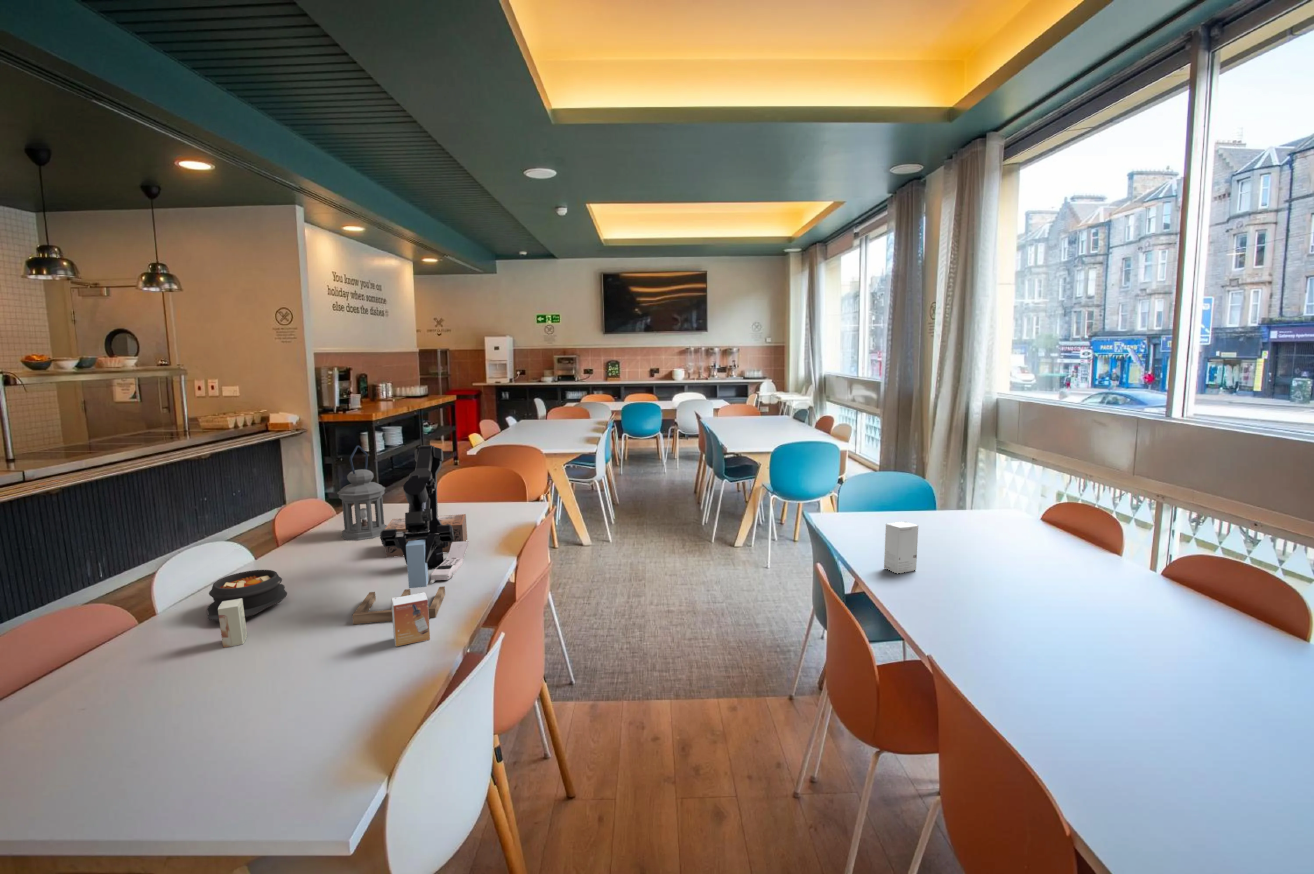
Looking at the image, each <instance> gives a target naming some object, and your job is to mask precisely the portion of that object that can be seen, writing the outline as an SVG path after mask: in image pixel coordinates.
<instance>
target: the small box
mask: <svg viewBox="0 0 1314 874" xmlns="http://www.w3.org/2000/svg"><path fill="white" fill-rule="evenodd" d="M428 607H429V600H428V597H427V594H426V592H424V591H423V592H419V593H413V594H411V595H408V596H402V597H401V596H397V597H391V610H392V617H393V621H392V629H393V631H392V632H393V640H394V645H395V647H399V646H405V645H409V644H414V643H420V642H426V640H427V641H430V640H431V629H430V618H429V611H428Z"/></svg>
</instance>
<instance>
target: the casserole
mask: <svg viewBox="0 0 1314 874" xmlns="http://www.w3.org/2000/svg"><path fill="white" fill-rule="evenodd" d="M282 582H283V578H282V577H281V576H279V574H278V572H277V571H275V570H272V569H256V570H255V569H253V570H247V571H242V572H241V571H240V572H238V573H233V574H230V575H227V576H224V577H222V578H219V579H217V580H216V581H214V582H213V584H212V586H211V589H210V591H209V592H208V595H209V597H211V598H212V599H213V602H211V603H210V604H209V605H208V606H207V608H206V611H207V613H208V615H207V617H206V618H207V620H209V621H215V622H216V621H217V622H218V621H219V614H218V607H219V606H220V604H221V603H222V601H228V600H235V599H241V598H242V600H243V607H244V615H245V618H248V617H252V616H255V615H257V614H259V613H261V612H262V611H264V610H265V609H268V608H270V607H273V606H274V605H277V604H278V603H280V602H282V601H283V600H284V599H286V597H287V596H288V592H287V591H286V589H285V587H286V586H285V584H282Z"/></svg>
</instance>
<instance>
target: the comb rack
mask: <svg viewBox="0 0 1314 874" xmlns="http://www.w3.org/2000/svg"><path fill="white" fill-rule="evenodd" d="M408 595H412V594H411V588H407V589H404V590H403V592H402V593H401V595H400V597H402V596H408ZM376 597H377V596H376V591H369V592H368V594H367V595H366V596H365V598H364V599H363V600H362V601H361V603H360V604H359V606H358V607H357V608H356V610H355V611H354V612H353V614H352V625H361V624H360V623H364V624H371V623H370V622H375V623H383V622H384V623H385V621H387V622H393V617H392V609H386V610H385V609H384V610H374V611H373V610H372V611H370V609H371V608H372V606H373V605H374V603H375V602H376V600H377V598H376ZM445 597H446V587H445V586H439V587H438V589H437V591H436V593H435V595H434V598H433V600H432V602H431V603H430V606H428V611H429V619H432V618H437V615H438V613H439V610H440V608H441V605H442V603H443V601H444V599H445Z"/></svg>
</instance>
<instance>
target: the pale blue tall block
mask: <svg viewBox="0 0 1314 874" xmlns="http://www.w3.org/2000/svg"><path fill="white" fill-rule="evenodd" d="M425 553H426V540H414V541H408V543H407V545H406V555H407V565H406V568H407V579H408V580H407V581H408V589H416V588H417V589H418V588H426V587H427V586H428V584H429V573H428V572H429V570H428V567H427V563H425Z"/></svg>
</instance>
